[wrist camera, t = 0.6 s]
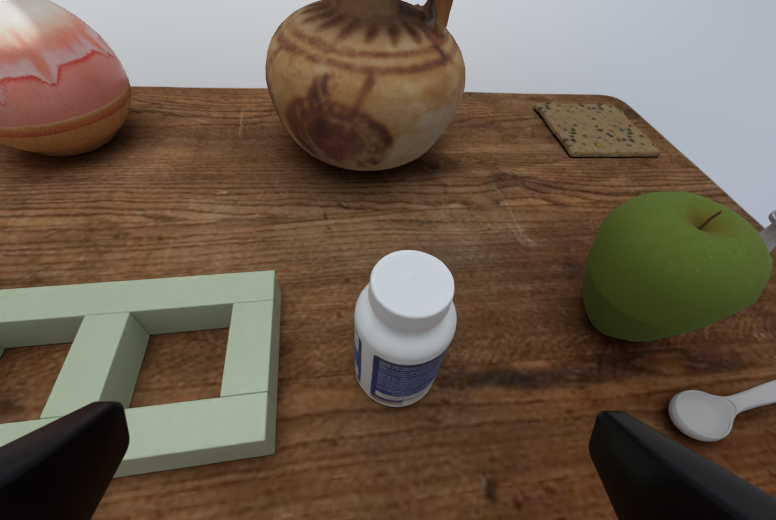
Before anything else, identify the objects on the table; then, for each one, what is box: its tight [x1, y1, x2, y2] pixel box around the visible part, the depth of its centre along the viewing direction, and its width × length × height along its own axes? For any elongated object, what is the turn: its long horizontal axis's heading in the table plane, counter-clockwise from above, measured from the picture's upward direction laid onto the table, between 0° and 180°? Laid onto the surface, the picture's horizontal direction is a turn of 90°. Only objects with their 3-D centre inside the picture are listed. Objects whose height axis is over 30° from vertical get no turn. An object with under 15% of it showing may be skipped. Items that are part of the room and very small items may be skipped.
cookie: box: [534, 103, 660, 157], centre depth 47 cm, size 12×12×1 cm
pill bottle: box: [354, 250, 457, 407], centre depth 20 cm, size 5×5×10 cm
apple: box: [582, 191, 773, 342], centre depth 24 cm, size 9×8×12 cm
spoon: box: [668, 379, 776, 441], centre depth 24 cm, size 3×12×2 cm, turn 104°
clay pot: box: [266, 0, 465, 171], centre depth 35 cm, size 19×19×20 cm
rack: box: [0, 270, 281, 478], centre depth 21 cm, size 11×20×3 cm, turn 99°
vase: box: [0, 0, 132, 156], centre depth 31 cm, size 14×14×18 cm
